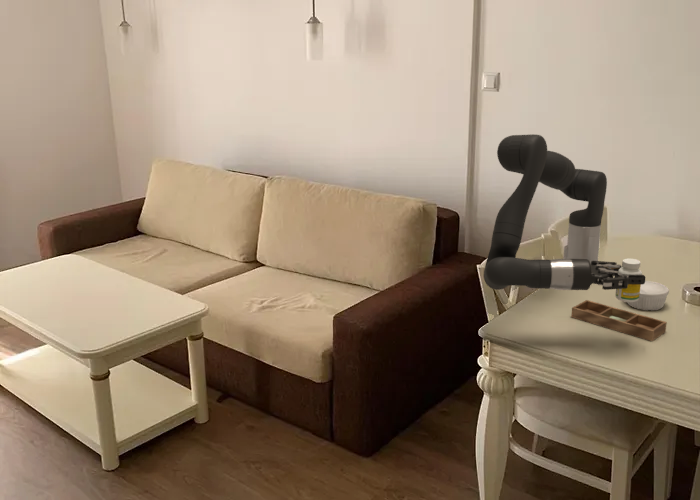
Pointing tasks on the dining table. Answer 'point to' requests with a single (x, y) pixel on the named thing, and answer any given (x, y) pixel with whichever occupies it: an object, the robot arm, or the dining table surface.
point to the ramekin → (651, 296)
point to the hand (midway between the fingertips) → (640, 275)
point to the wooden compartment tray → (619, 320)
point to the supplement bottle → (633, 289)
